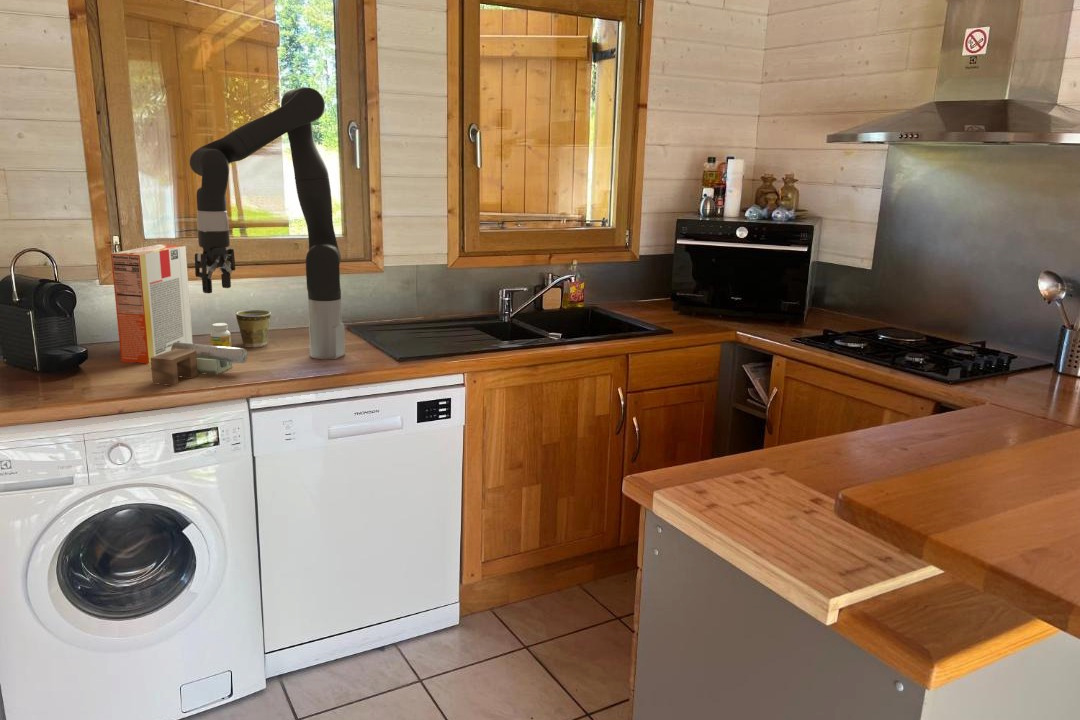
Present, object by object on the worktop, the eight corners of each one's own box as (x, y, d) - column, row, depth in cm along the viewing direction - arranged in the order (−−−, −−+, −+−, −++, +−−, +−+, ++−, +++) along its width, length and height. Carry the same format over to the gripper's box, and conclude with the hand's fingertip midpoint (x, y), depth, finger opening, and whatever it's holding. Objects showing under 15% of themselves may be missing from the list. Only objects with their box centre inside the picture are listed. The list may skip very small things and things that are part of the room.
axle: (247, 361, 211) (246, 346, 210) (239, 364, 208) (238, 350, 207) (180, 354, 215) (179, 340, 214) (171, 358, 211) (170, 344, 210)
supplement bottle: (233, 354, 229) (231, 322, 226) (230, 358, 224) (228, 326, 221) (213, 354, 227) (211, 322, 225) (210, 359, 222) (208, 326, 220)
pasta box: (167, 342, 238) (159, 244, 231) (192, 344, 238) (185, 245, 230) (121, 361, 216) (110, 253, 209) (149, 363, 215) (139, 255, 208)
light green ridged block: (232, 367, 215) (231, 353, 214) (215, 374, 208) (214, 360, 207) (199, 364, 217) (198, 350, 216) (181, 371, 209) (180, 357, 208)
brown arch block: (197, 375, 207) (196, 350, 205) (173, 385, 197) (171, 359, 195) (177, 373, 208) (175, 348, 206) (152, 383, 198) (150, 357, 196)
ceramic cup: (276, 346, 239) (274, 314, 237) (242, 349, 234) (240, 317, 231) (264, 337, 250) (262, 307, 247) (231, 340, 244) (229, 309, 242)
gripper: (216, 225, 209) (219, 285, 213) (183, 229, 196) (187, 293, 200) (241, 227, 208) (245, 287, 212) (210, 231, 194) (214, 295, 198)
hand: (217, 290), depth 206 cm, fingers open, 8 cm apart
